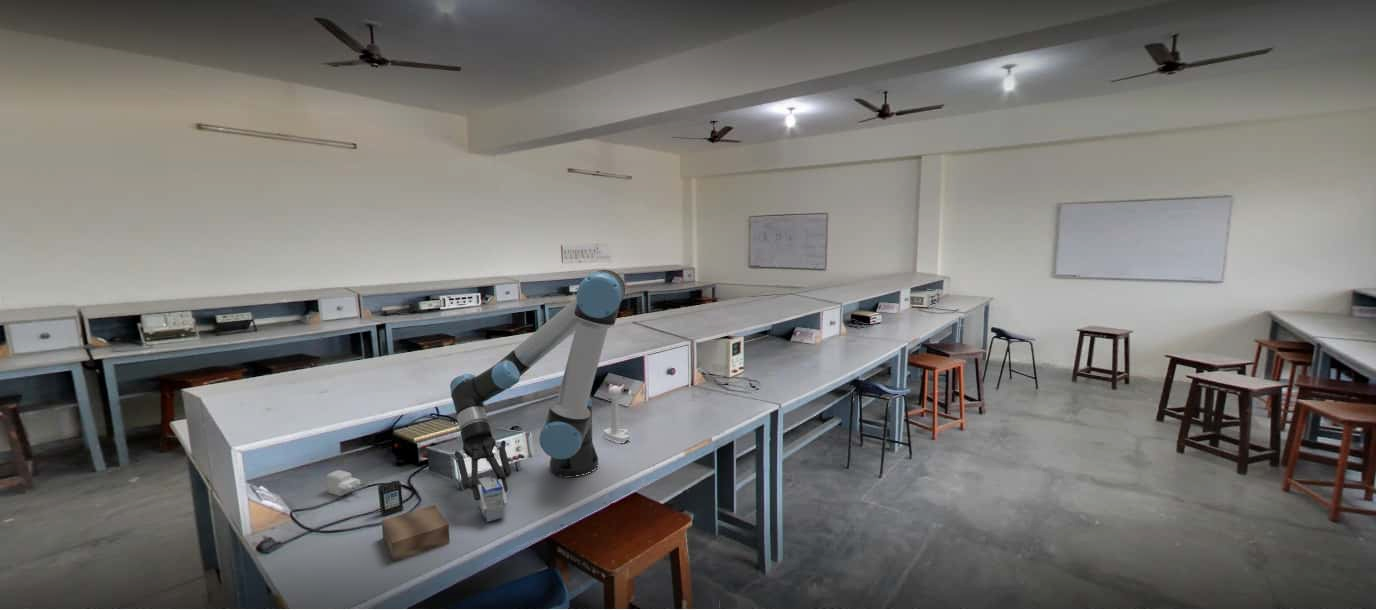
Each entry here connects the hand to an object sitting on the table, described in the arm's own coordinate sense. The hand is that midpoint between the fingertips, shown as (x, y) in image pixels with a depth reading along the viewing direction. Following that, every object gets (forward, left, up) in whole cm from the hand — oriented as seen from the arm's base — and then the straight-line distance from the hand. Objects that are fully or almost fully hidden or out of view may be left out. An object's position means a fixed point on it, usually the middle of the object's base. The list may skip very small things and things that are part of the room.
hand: (494, 507), depth 136 cm
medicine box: (0, -4, -4) cm, 5 cm away
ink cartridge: (+21, -21, -4) cm, 30 cm away
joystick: (-53, -32, -4) cm, 62 cm away
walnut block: (+18, -3, -4) cm, 19 cm away
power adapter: (+30, -39, -4) cm, 49 cm away
